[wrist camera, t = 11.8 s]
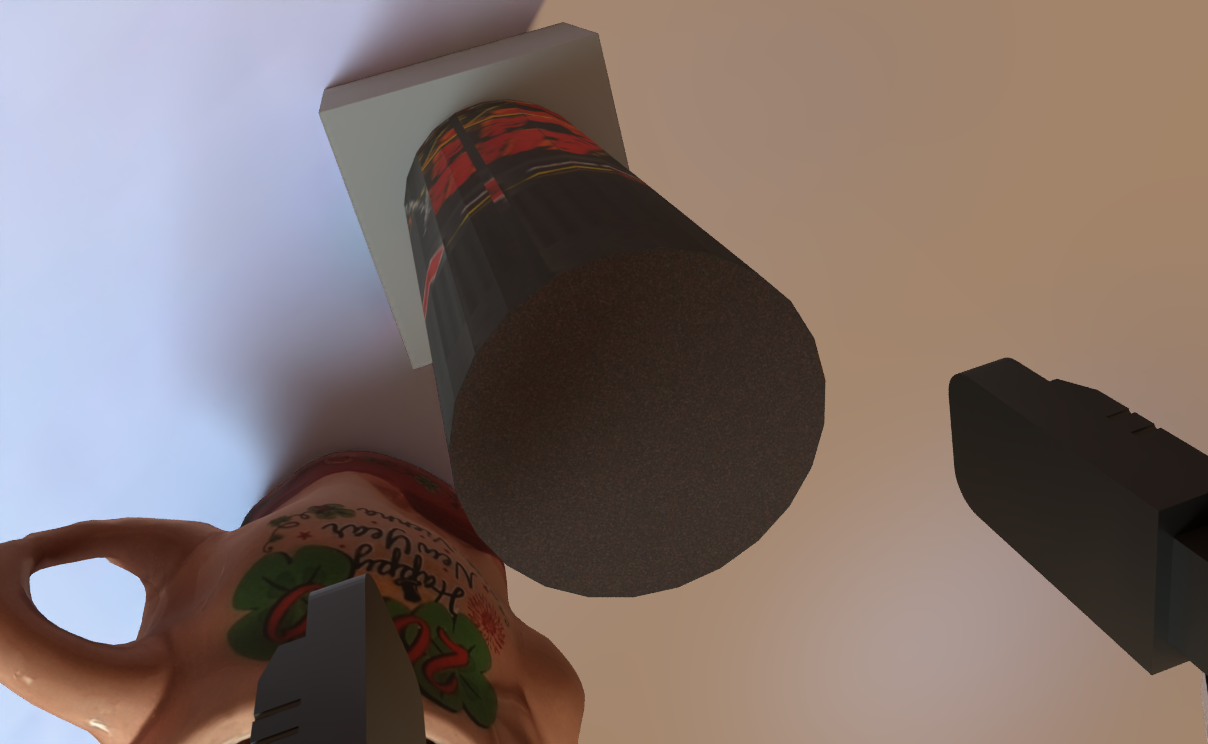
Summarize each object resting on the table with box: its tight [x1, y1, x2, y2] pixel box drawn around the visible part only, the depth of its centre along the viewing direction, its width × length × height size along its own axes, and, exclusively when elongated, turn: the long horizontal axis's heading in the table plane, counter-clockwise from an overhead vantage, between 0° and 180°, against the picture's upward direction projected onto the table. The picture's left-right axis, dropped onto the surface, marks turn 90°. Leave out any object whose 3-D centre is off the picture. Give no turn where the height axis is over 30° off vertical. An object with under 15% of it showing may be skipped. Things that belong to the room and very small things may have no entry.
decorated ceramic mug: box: [0, 451, 585, 744], centre depth 30 cm, size 20×12×14 cm, turn 57°
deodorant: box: [404, 99, 825, 597], centre depth 21 cm, size 6×6×15 cm
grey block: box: [319, 22, 629, 370], centre depth 30 cm, size 8×8×5 cm
